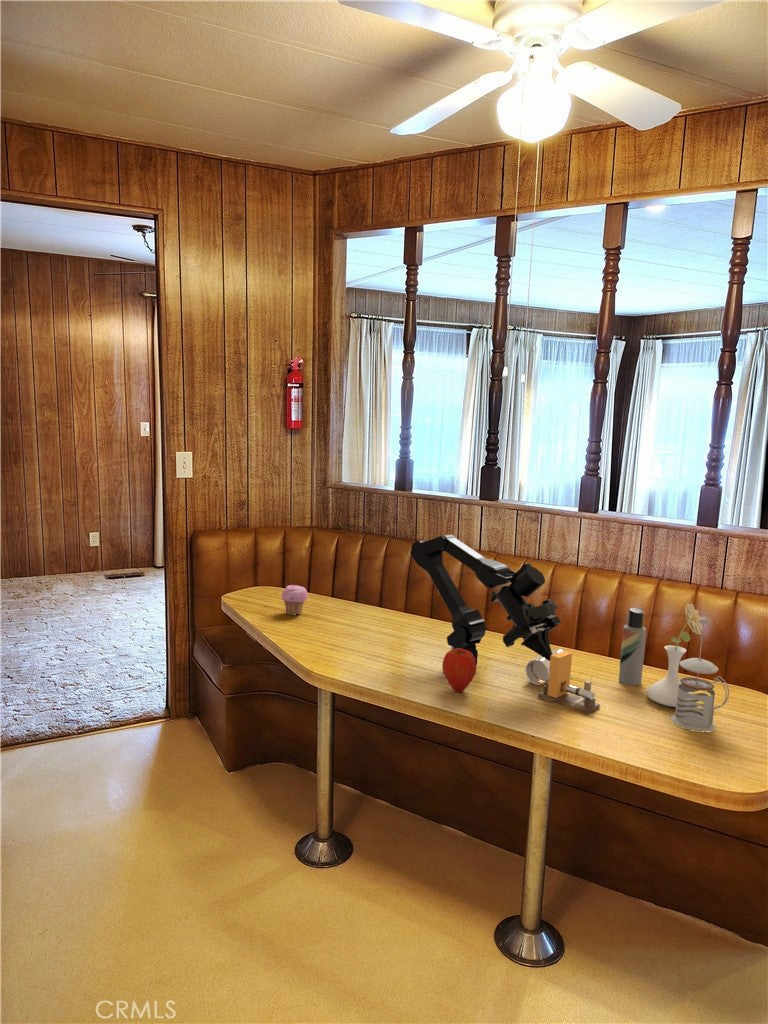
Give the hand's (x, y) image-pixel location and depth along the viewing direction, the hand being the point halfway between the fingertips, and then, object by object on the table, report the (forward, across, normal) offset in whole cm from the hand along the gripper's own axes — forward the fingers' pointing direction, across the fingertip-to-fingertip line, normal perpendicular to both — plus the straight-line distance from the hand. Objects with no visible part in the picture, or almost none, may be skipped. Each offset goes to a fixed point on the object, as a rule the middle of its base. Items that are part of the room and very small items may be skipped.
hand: (551, 659), depth 170 cm
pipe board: (+10, 0, +3) cm, 11 cm away
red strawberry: (-5, -15, +18) cm, 25 cm away
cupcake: (-61, -5, +74) cm, 96 cm away
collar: (+7, 0, +4) cm, 8 cm away
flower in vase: (+22, +21, -9) cm, 32 cm away
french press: (+29, +12, -15) cm, 35 cm away
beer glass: (-1, +19, +10) cm, 21 cm away
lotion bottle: (+13, +26, 0) cm, 29 cm away
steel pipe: (+9, 0, +1) cm, 9 cm away
